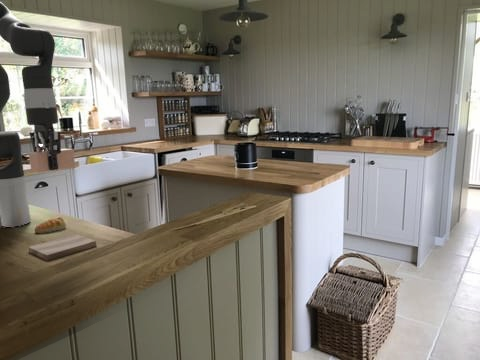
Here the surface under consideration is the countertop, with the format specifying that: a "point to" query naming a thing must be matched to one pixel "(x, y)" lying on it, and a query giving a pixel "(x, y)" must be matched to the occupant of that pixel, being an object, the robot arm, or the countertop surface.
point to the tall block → (41, 160)
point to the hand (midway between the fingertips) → (49, 169)
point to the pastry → (51, 225)
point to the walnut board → (61, 246)
